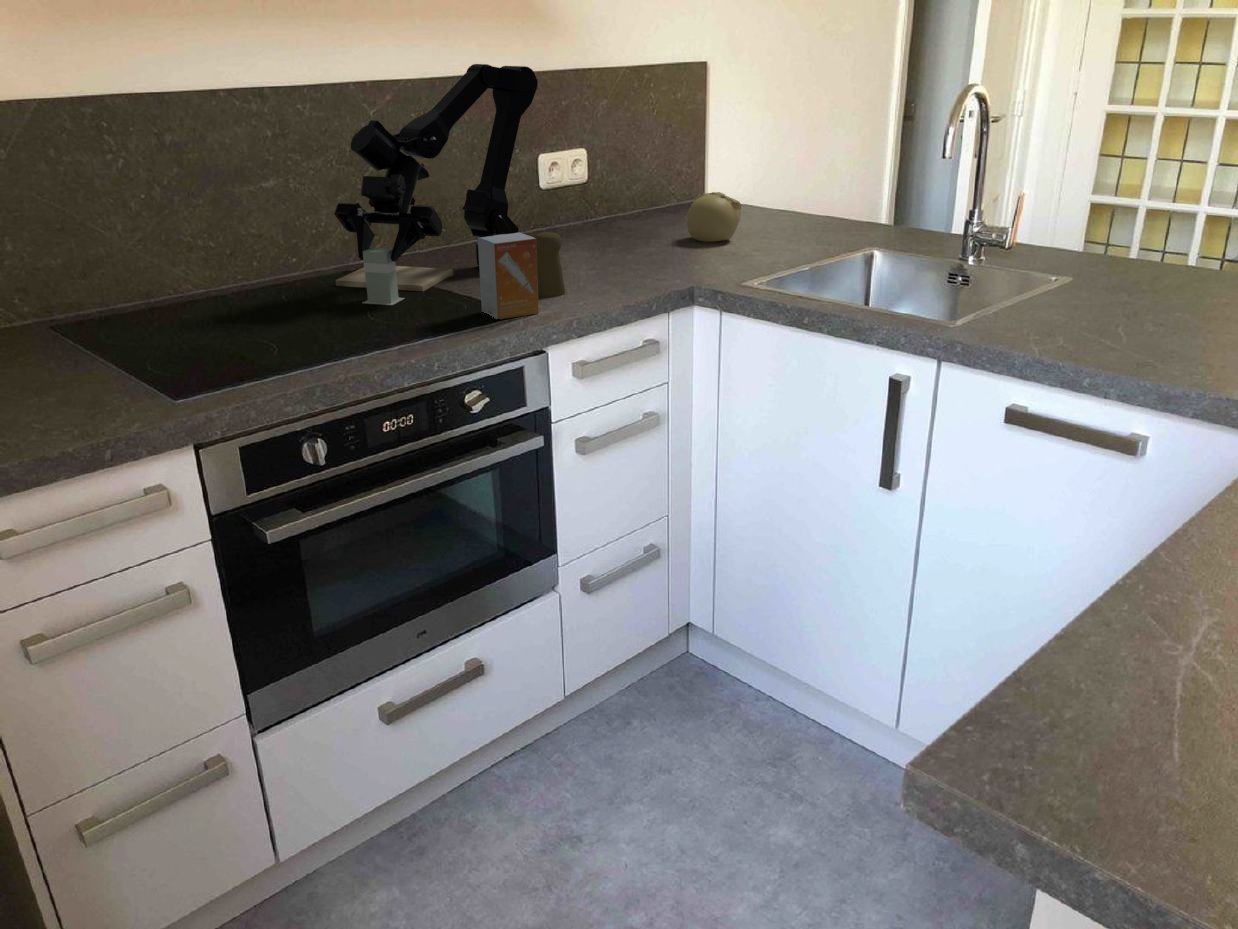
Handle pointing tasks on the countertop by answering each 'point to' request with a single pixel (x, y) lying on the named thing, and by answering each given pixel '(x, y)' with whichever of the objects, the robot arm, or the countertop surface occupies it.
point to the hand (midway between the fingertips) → (376, 259)
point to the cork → (549, 265)
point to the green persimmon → (713, 217)
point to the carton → (380, 275)
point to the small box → (508, 275)
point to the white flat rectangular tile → (384, 303)
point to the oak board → (402, 278)
